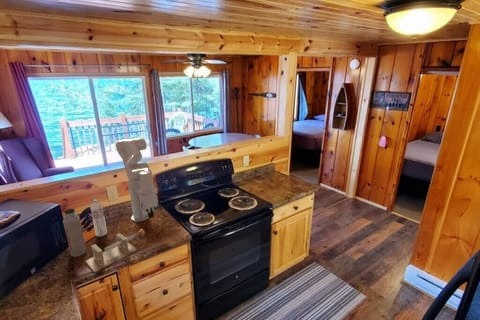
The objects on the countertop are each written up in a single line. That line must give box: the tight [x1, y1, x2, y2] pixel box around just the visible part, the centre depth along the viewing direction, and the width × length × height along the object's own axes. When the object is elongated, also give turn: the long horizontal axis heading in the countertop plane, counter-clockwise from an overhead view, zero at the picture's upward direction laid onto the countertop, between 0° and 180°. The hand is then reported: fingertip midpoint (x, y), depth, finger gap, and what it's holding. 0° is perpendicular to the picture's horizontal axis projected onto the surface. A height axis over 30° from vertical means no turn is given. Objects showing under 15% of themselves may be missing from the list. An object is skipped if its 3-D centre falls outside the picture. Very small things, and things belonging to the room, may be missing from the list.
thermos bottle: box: [62, 208, 87, 258], centre depth 148 cm, size 8×8×28 cm
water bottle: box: [90, 199, 108, 238], centre depth 167 cm, size 7×7×25 cm
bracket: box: [84, 233, 137, 273], centre depth 147 cm, size 24×12×10 cm, turn 140°
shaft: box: [103, 228, 146, 252], centre depth 153 cm, size 24×4×4 cm, turn 140°
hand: (151, 217), depth 164 cm, fingers closed
